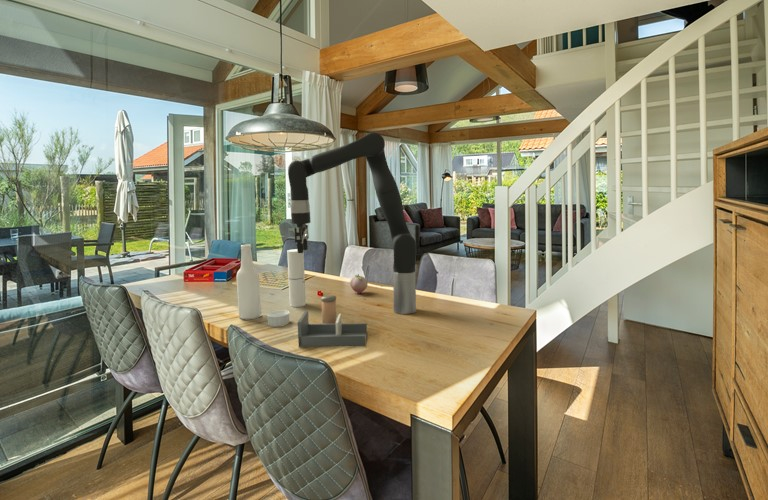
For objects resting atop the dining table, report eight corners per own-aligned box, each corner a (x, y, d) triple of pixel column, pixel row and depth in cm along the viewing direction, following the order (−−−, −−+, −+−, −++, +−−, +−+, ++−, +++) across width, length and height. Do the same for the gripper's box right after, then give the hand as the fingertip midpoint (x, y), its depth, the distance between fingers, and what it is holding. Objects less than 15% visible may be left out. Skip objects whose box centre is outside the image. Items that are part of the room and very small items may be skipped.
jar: (337, 321, 157) (336, 295, 156) (335, 325, 152) (334, 298, 150) (323, 321, 157) (322, 295, 156) (321, 326, 152) (320, 299, 150)
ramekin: (271, 329, 149) (271, 318, 149) (263, 323, 157) (262, 312, 156) (293, 324, 155) (293, 313, 154) (284, 318, 162) (284, 308, 161)
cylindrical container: (286, 304, 181) (284, 250, 178) (300, 301, 186) (297, 248, 183) (295, 307, 176) (292, 252, 173) (308, 304, 181) (306, 250, 178)
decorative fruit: (371, 294, 198) (370, 274, 197) (356, 296, 194) (355, 276, 193) (362, 290, 206) (362, 271, 205) (348, 292, 202) (347, 273, 201)
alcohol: (266, 315, 166) (261, 244, 161) (248, 321, 158) (243, 246, 154) (252, 312, 171) (248, 242, 166) (234, 317, 163) (229, 245, 159)
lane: (366, 332, 144) (366, 309, 143) (365, 346, 131) (364, 321, 130) (306, 333, 144) (305, 310, 143) (298, 347, 131) (297, 322, 130)
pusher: (341, 332, 143) (341, 313, 142) (338, 343, 133) (337, 322, 132) (339, 332, 143) (338, 313, 142) (336, 343, 133) (335, 323, 132)
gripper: (306, 212, 153) (308, 253, 156) (313, 210, 167) (315, 248, 170) (286, 212, 153) (289, 254, 156) (295, 211, 168) (297, 249, 170)
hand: (302, 251), depth 163 cm, fingers open, 8 cm apart
